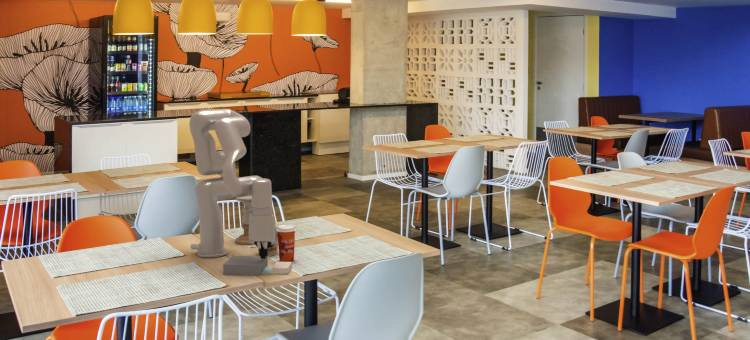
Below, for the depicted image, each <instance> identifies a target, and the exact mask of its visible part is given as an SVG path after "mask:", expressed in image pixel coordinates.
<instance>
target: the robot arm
mask: <svg viewBox="0 0 750 340" xmlns="http://www.w3.org/2000/svg"><path fill="white" fill-rule="evenodd" d="M188 125H189V131H190V134H191V136H192V141H193V144H194V156H195V161H196V162H195V163H196V169H197V172H198V174H199V175H201V176H204V177H205V176H215V175H220V176H219V177H211V178H207V179H201V180H199V182H197V184H196V185H195V190H194V191H195V196H196V201H197V207H198V219H199V221H198V222H199V223H198V224H199V240H200V242H199V243H198V244H197V243H191V244H190V248H191V250H197V251H196V256H197V257H199V258H204V259H205V258H209V259H211V258H212V259H213V258H221V257H224V256H226V255H228V254H229V250H228V249H227V248H225V244H224V243H225V242H224V240H225V239H224V217H223V209H222V208H221V206H220V204H219V203H218V202H219V201H225V200H231V199H234V198H235V199H236V198H239V197H245V196H252V208H249V209H248V211H249V212H251V213H252V214H251V215H250V219H249V243H252V244H253V245H255V246H256V248H257V250H258V249H259V252H258V256H261V259H265V258H266V257H267V256H268V247H269V246H270V245H271V244H275V243H277V239H276V237H277V230H276V224H277V222H276V219H275V214H274V213H273V197H272V196H273V192H272V181H271V179H269V178H263V177H261V176H259V175H249V176H243V177H242V176H239V177H237V169H236V161H239V160H240V159H242V158H243V157H244V156H246V153H247V147H246V145H245V143H244V140H243V138H245V137H247V136H249V135H250V133H251V124H250V122H249V120H248V119H247V118H246V117H245V116H244V115H242V114H241V113H238V112H236V111H234V110H232V109H230V108H215V109H203V110H199V111H195V112H194V113H192V115H191V116H190V119H189V124H188ZM210 131H211V132H212V131H215V135H216V136H217V139H218V142H219V144H220V146H221V149H222V150H217V146H216V145H217V144H216V140H215V138H214V136H213V135H212V134H211V133H210ZM262 242H265V243H264V247H263V245H262ZM268 257H269V256H268Z"/></svg>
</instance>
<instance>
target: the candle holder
mask: <svg viewBox="0 0 750 340" xmlns="http://www.w3.org/2000/svg"><path fill="white" fill-rule="evenodd" d="M235 200H236V201H237V202H241V204H243V208H242V212H243V217H242V220H241V221H242V224H243V225H242V226H241V228H242V229H243V234H241V235H239V236H237V237H236V238H235V239H234V241H235V243H236V244H237V245H240V246H241V245H242V246H243V245H245V246H250V245H251V246H253V245H252V243H249V219H250V215H251V214H252V213H251V212H249V211H248V209H249V208H252V196H245V197H239V198H236V197H235Z"/></svg>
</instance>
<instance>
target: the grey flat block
mask: <svg viewBox="0 0 750 340" xmlns="http://www.w3.org/2000/svg"><path fill="white" fill-rule="evenodd" d="M268 257H269V256H267V257H266V258H265V259H261V256H259V255H239V254H238V255H231V256H230V257H229V258H228V259H227V260H226V261H225V262H223V264H222V270H223V274H222V275H224V276H225V275H226V276H261V275H262V274H261V273H262V272H263V270H264V269H265V268H266V267H267V266H269V265H268V264H269V263H268V262H269V261H268Z"/></svg>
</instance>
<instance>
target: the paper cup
mask: <svg viewBox="0 0 750 340" xmlns="http://www.w3.org/2000/svg"><path fill="white" fill-rule="evenodd" d="M296 230H297V229H296V228H295V225H293V224H282V225H278V227H277V234H278V255H279V262H292V263H294V261H295V244H296V243H295V240H296V239H295V237H296Z"/></svg>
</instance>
